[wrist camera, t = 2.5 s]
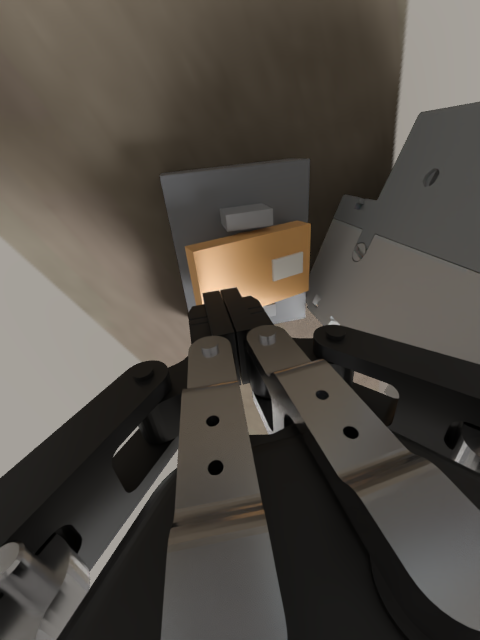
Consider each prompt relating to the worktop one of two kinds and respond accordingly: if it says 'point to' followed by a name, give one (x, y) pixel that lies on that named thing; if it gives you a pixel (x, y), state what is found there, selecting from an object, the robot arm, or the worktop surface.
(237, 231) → the switch box
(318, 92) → the worktop surface
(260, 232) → the block
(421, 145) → the electrical contactor
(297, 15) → the worktop surface
